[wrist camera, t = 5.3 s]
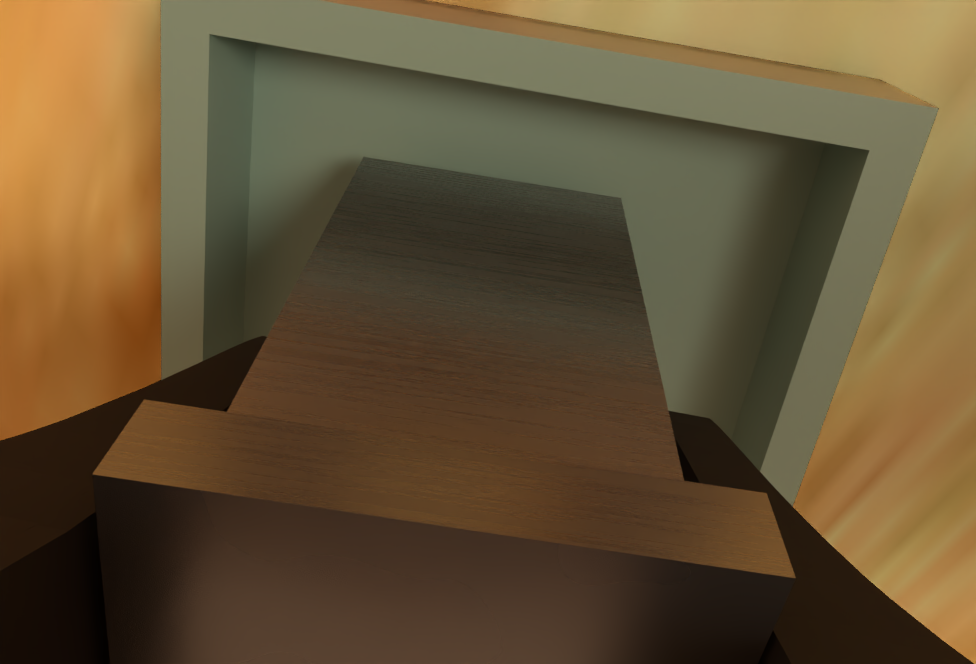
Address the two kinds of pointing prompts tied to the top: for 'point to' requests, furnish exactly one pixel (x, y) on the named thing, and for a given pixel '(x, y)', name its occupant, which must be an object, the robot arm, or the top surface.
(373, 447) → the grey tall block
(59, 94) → the top surface
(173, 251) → the tray
